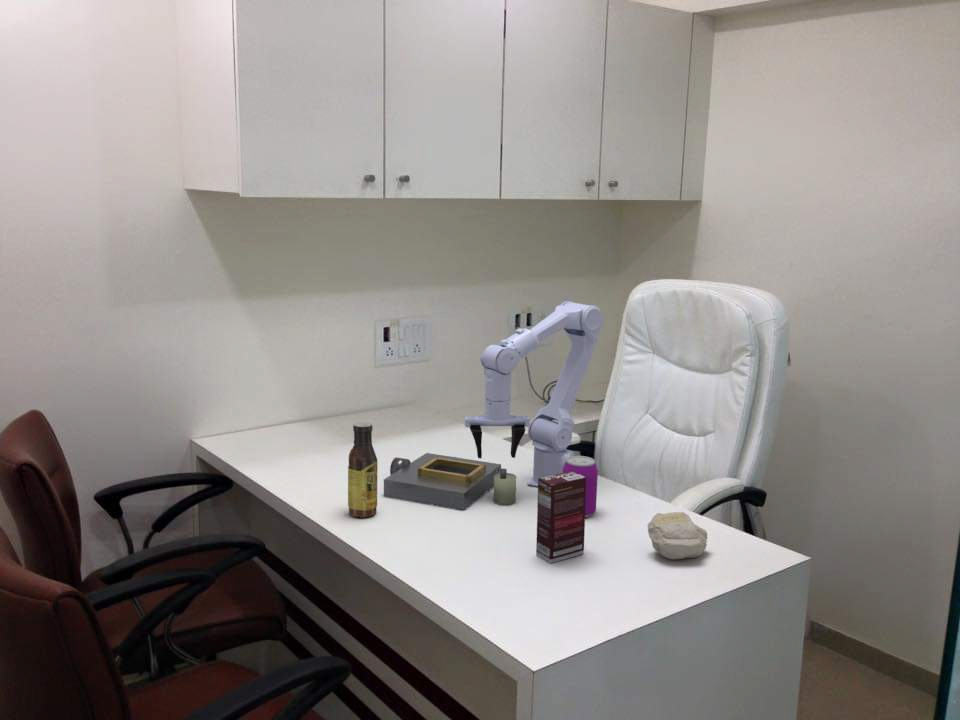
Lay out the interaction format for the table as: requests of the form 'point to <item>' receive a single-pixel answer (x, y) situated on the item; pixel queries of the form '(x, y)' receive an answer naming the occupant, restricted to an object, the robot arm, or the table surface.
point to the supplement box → (561, 516)
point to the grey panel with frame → (440, 480)
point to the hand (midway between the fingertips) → (496, 456)
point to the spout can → (504, 488)
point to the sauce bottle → (362, 473)
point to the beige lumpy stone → (676, 536)
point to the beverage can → (590, 471)
